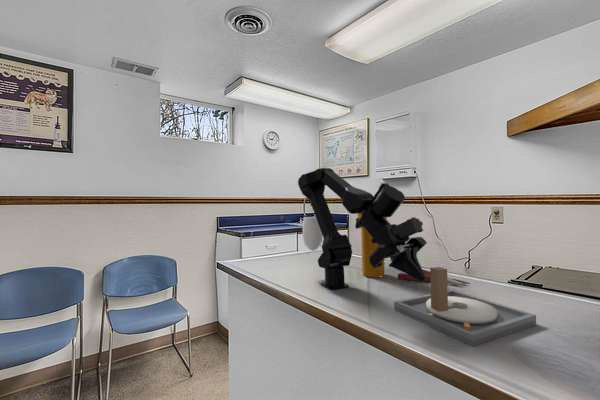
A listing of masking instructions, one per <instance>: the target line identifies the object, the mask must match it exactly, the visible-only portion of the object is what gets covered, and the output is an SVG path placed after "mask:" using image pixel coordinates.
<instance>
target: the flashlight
mask: <svg viewBox="0 0 600 400" xmlns="http://www.w3.org/2000/svg"><path fill="white" fill-rule="evenodd" d="M362 214H363V213H359V214H357V218H360V217H361V216H362ZM385 218H386V219H387V220H388V217H385ZM360 229H361V233H360V234H361V274H362V273H363V274H362V275H363V276H364V275H365V276H364V277H366V276H368V277H367V278H381V277H380V276H383V277H385V259H384V260H383V261H382V266H381V267H378V268H375V269H374V268H373V266H372V265H371V264H370V263H369V256H370V255H371V254H372V253H373V252H374V251H375V250H376V249H377V248H378V247H379V245H378V244H377V243H375V244H373V243H372V241H371V240H372V239H373V238H372V236H371V235H370V234H369V233H368V231H367V230H366V229H365V228H364V227H361V228H360Z"/></svg>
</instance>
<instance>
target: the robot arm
mask: <svg viewBox="0 0 600 400" xmlns="http://www.w3.org/2000/svg"><path fill="white" fill-rule="evenodd" d="M297 184H298V187H299V190H300V192H301V194H302V195H303V196H304V197H305V198H307V199H308V201H309V202H310V204H311V207H312V210H313V212H314V215H315V216H314V217H316V219H317V221H318V224H319V227H320V229H321V232H322V235H323V236H322V243H321V244H322V245H321V250H322V253H321V254H320V256H319V257H318V259H317V263H318V267H319V268H322V269H324V282H321V283H320V285H321V286H322V287H325V288H327V289H328V290H330V291H331V290H332V291H333V290H338V289H345V288H349V284H347V283H345V267H346V266H347V267H348V266H350V264H351V259H352V255H353V250H352V247H353V246H352V244H351V243H350V240H349V237H348V235H346V234H341V233H340V232H339V231H338V228H337V225H336V222H335V221H334V219H333V215H332V213H331V210H330V208H329V205H328V203H327V200H326V198H325V197H326V196H325V194H324V193H325V189H326V186H327V187H328V188H329V189H330V190H331V192H333V193H335V194H336V195H337V196H338V197H339V199H341V204H342V206H343V207H344V208H345V210H346V212H348V213H349V214H352V215H356V214H357V215H358V214H359V213H363V214H362V216H361V217H360V218H358V217H357V218H355V221H356V222H355V225H354V226H355V229H356V230H357V229H361V227H364V228H365V229H366V230H367V231H368V233H369V234H370V235H371V236H372V238H373V239H372V240H371V241H372V243H373V244H375V243H377V244H378V245H379V247H378V248H377V249H376V250H375V251H374V252H373V253H372V254H371V255H370V256H369V263H370V264H371V265H372V266H373V268H374V269H375V268H378V267H381V266H382V261H383V260H384V261H385V259H389V258H390V261H391V262H390V263H389V265H388V267H389V268H393V269H396V270H398V271H400V272H401V273H404V274H408V275H410V276H412V277H414V278H416V279H418V280H420V281H424V280H425V279H426V277H425V274H424V272H423V270H424V269H422V266H421V264H420V261H419V259H418V255H417V254H418V253H419V252H420V250H421V249H423V248H424V247H425V245H427V243H428V242H427V241H426V239H424V237H422V236H414V237H410V236H413V235H415V234H417V233H422V232H423V231H424V229H423V225H424V223H423V222H422V221H421V220H420V218H416V216H415V217H411V218H409V219H406V221H404V222H402V223H399V224H395V223H392V224H391V223H390V221H388V218H391V217H393V215H394V214H395V213H396V211H397V210H399V207H400V206H401V205H402V204H403V203H404V201H405V199H406V197H405V194H404V192H403V191H401V190H399V189H397V188H396V187H393V186H391V185H390V184H389V183H387V182H386V183H385V182H384V183H383V182H382V183H381V184H380V186H379V187H378V189H377V191H376V192H375V194H374V195H373V194H372V193H371V192H368V191H366V190H364V189H361V188H357V187H354V186H353V185H351V184H350V183H349V182H347V180H345V179H344V178H343V177H341V176H340V175H338V174H337V173H336V172H335V171H334V170H333V169H332V168H330V167H319V168H317V169H315V170H313V171H310V172H306V173H303V174H301V175H300V177H299V178H298V180H297ZM385 217H387V219H386V218H385Z"/></svg>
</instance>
